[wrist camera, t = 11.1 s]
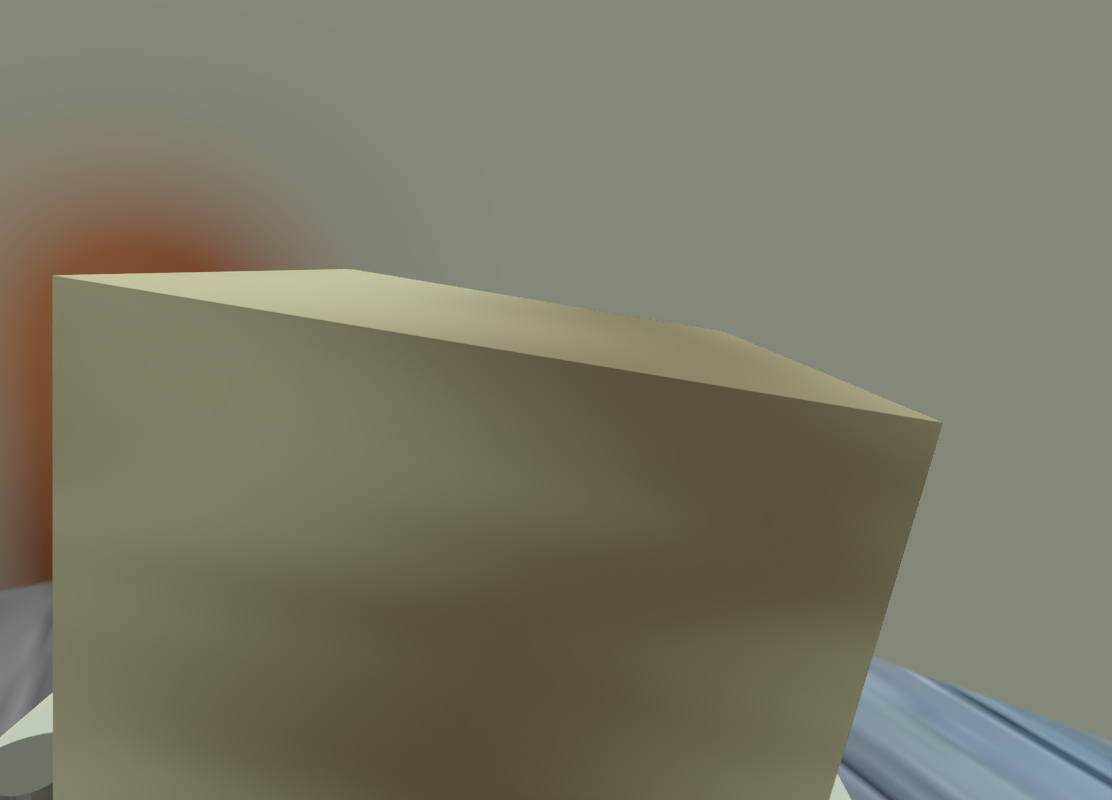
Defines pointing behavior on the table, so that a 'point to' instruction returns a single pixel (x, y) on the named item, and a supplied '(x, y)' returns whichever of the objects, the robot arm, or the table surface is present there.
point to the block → (454, 546)
